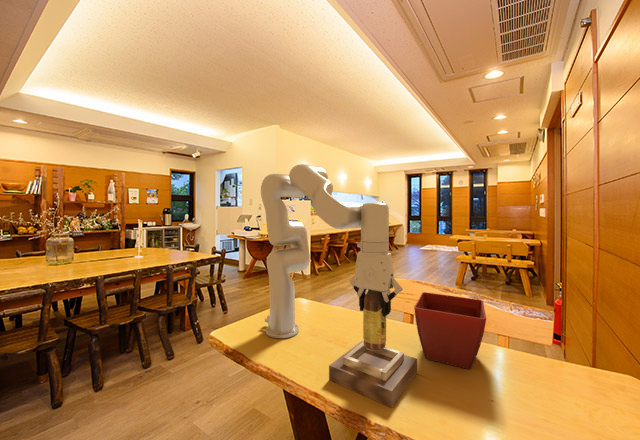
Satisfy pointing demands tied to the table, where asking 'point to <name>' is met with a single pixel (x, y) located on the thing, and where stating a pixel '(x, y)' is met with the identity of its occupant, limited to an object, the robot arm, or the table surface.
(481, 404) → the table surface
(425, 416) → the table surface
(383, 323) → the sauce bottle
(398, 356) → the condiment stand
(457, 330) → the plant pot
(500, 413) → the table surface
